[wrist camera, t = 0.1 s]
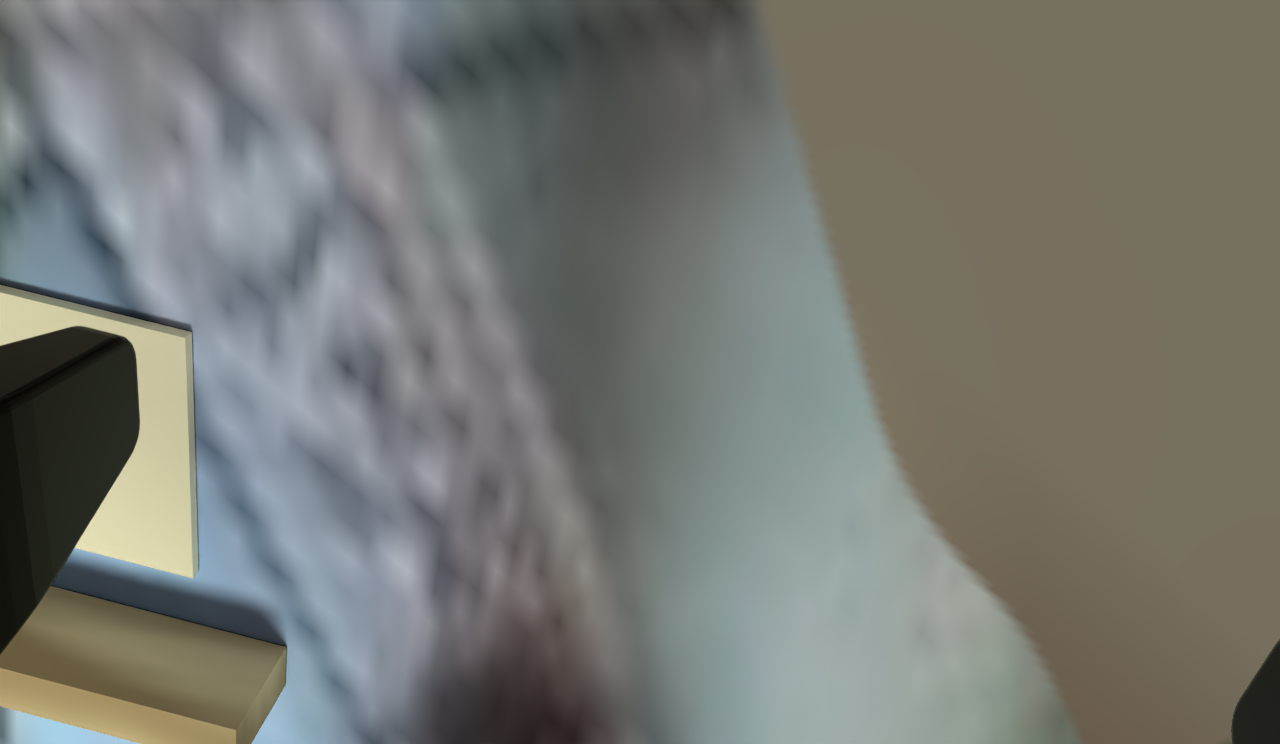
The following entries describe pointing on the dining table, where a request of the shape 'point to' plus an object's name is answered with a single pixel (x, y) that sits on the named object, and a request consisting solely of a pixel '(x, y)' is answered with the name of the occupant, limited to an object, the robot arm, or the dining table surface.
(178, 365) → the pad
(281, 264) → the dining table surface
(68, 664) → the arena
